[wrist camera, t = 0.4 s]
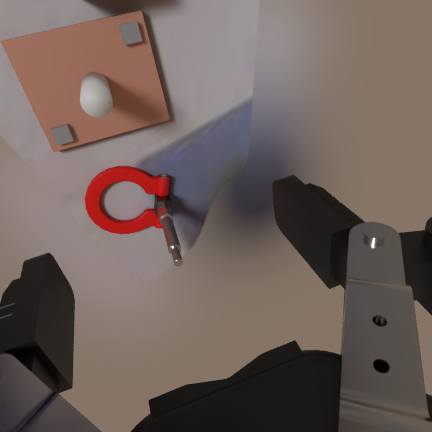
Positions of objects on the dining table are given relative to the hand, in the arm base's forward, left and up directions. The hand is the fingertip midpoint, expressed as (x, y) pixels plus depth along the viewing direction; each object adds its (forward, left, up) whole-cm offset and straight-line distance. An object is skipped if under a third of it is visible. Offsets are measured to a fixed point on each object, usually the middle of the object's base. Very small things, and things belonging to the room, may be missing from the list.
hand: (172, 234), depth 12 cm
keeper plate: (-1, -2, -27) cm, 27 cm away
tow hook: (+12, -3, -27) cm, 30 cm away
